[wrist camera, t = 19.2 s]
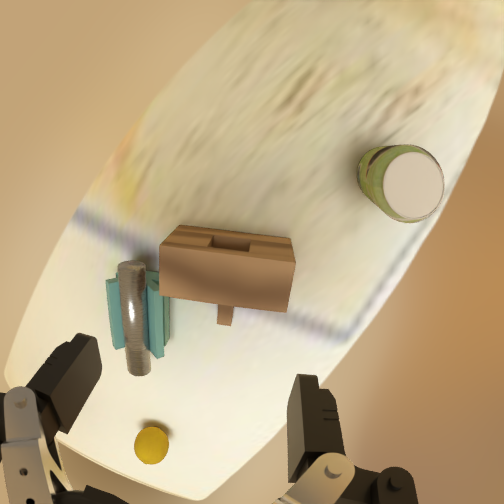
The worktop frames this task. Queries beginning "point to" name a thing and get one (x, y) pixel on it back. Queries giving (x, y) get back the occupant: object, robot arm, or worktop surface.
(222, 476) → the worktop surface
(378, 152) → the beverage can
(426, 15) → the worktop surface
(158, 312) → the v block
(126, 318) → the axle
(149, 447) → the lemon
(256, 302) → the brown wooden block
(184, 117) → the worktop surface
